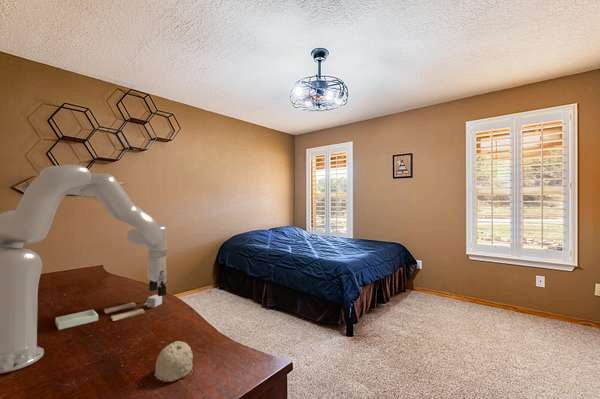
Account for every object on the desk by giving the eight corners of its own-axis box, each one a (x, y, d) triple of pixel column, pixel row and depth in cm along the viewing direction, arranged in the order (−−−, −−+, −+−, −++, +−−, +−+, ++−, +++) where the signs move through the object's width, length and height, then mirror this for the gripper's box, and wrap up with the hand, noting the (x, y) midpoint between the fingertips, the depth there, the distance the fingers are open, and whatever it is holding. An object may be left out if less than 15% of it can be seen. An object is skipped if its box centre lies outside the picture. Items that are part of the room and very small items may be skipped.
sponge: (193, 384, 78) (201, 343, 83) (183, 382, 70) (192, 337, 76) (159, 384, 77) (168, 343, 83) (144, 382, 70) (156, 337, 75)
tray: (98, 320, 109) (98, 314, 109) (58, 329, 101) (58, 324, 101) (93, 314, 114) (93, 309, 114) (55, 323, 106) (55, 317, 106)
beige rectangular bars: (144, 313, 116) (144, 310, 116) (113, 320, 108) (113, 318, 108) (133, 304, 126) (133, 302, 126) (103, 311, 118) (103, 308, 118)
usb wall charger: (161, 304, 127) (162, 295, 127) (150, 310, 120) (150, 300, 120) (154, 303, 128) (154, 294, 128) (142, 309, 121) (142, 299, 121)
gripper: (141, 252, 130) (141, 290, 130) (156, 258, 118) (156, 300, 118) (158, 250, 135) (158, 286, 135) (174, 255, 123) (174, 295, 123)
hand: (157, 292), depth 127 cm, fingers open, 9 cm apart
